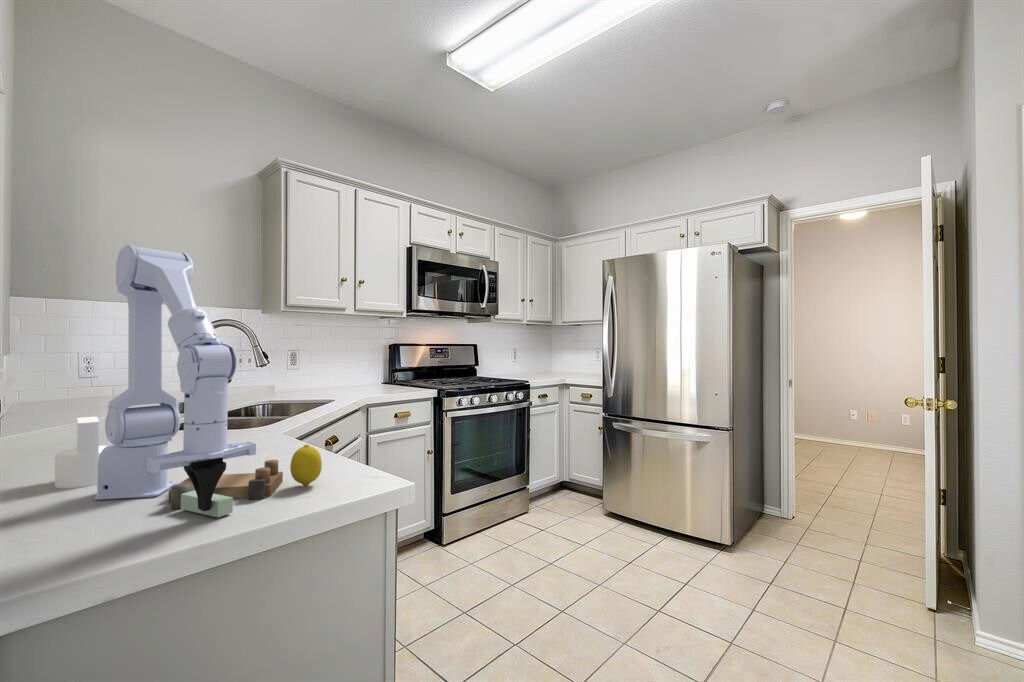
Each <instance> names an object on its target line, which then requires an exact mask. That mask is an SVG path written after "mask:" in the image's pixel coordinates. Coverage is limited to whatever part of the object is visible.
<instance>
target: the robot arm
mask: <svg viewBox="0 0 1024 682" xmlns="http://www.w3.org/2000/svg"><path fill="white" fill-rule="evenodd" d="M115 266H116V267H115V268H116V269H115V270H116V271H115V273H116V275H115V284H116V287H117V288H116V289H117V293H119V294H121V295H123V296H124V297H125V298H126V299H127V307H128V309H127V310H128V325H127V326H128V328H127V329H128V331H127V332H128V336H127V337H128V340H127V341H128V343H127V344H128V345H127V346H128V355H127V356H128V359H127V360H128V366H127V367H128V368H127V369H128V371H127V373H128V378H127V379H128V380H127V381H128V383H127V385H128V388H127V389H126V390H125V391H122V393H120V394H118V395H116V396H115V397H114V398H112V399H111V400H109V402H108V405H107V414H106V417H105V423H104V431H105V435H106V436H105V437H106V439H107V441H108V442H110V443H111V444H108V445H105V446H106V447H105V448H104V449H103V450H102V452H101V454H100V456H99V460H98V484H97V485H96V487H97V489H96V490H97V493H96V495H95V496H94V500H96V501H97V500H99V501H101V500H118V499H132V498H133V499H134V498H135V499H136V498H151V497H153V498H154V497H158V496H159V495H161V494H163V493H165V492H166V491H169V490H170V489H171V486H173V485H176V484H178V482H177V481H168V470H170V469H175V468H182V467H183V470H184V472H185V473H186V475H187V476H188V478H190V480H191V482H192V484H193V486H194V488H195V491H196V494H197V497H198V509H200V510H202V511H208V510H210V509H211V499H212V496H213V493H214V490H215V488H216V485H217V483H218V481H219V479H220V478H221V476H222V475H224V473H225V471H226V470H227V469H226V468H227V462H226V461H224V460H228V459H233V458H238V457H246V456H255V455H257V443H256V442H253V441H245V442H239V443H228V420H229V419H228V418H229V417H228V411H229V410H228V409H229V380H230V379H231V380H232V378H233V377H234V375H235V374H236V370H237V354H236V352H235V350H234V347H233V346H232V345H231V343H226V341H225V340H224V339H220V338H219V336H218V334H217V332H216V329H215V327H214V325H213V323H212V321H211V319H210V317H209V315H208V313H207V312H206V311H205V310H203V309H199V308H197V307H198V306H197V305H196V301H195V298H194V294H193V291H192V289H191V283H192V280H193V276H194V271H195V269H194V262H193V259H192V258H191V256H190V255H189V254H188V253H186V252H176V251H175V252H174V251H167V250H161V249H153V248H148V247H143V246H142V247H140V246H134V245H133V244H126V245H124V246H123V247H121V248H120V250H119V252H118V255H117V258H116V264H115ZM163 304H165V306H166V308H167V309H168V310H169V313H170V314H171V316H170V317H169V318H168V320H167V327H168V329H169V332H170V334H171V336H172V338H173V341H174V344H175V346H176V349H177V351H178V353H179V354H178V357H177V361H176V369H177V374H178V377H179V383H180V386H179V387H180V392H181V393H184V395H183V397H184V401H183V405H184V406H183V409H184V410H183V443H182V444H183V445H182V447H183V449H182V450H178V451H174V452H169V442H172V441H173V437H175V436H176V435H177V433H178V432H179V430H180V427H181V415H180V411H179V404H178V399H177V397H176V396H174V394H172V393H170V392H168V391H166V390H165V389H163V375H162V373H163V347H162V346H163V331H162V329H163V321H162V320H163V317H162V316H163V315H162V313H163ZM153 404H154V405H153ZM156 404H159V405H156ZM141 405H142V406H141ZM143 405H144V406H143ZM145 405H148V406H145ZM134 406H138V407H134Z"/></svg>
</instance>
